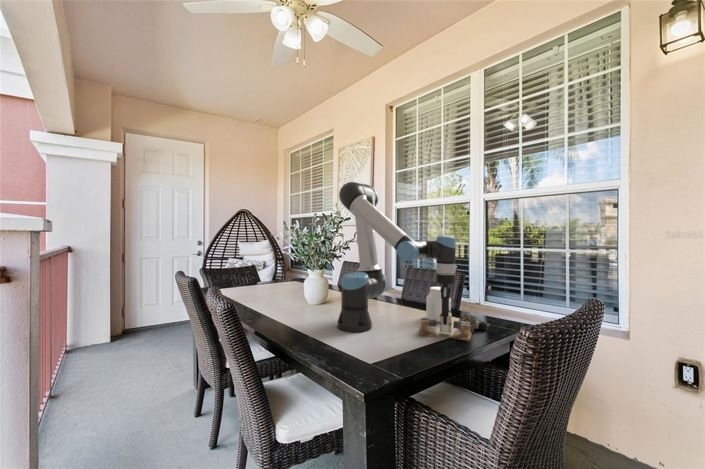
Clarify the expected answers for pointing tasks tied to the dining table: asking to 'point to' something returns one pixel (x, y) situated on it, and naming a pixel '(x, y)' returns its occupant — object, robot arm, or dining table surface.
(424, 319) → the shaft left
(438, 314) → the jar
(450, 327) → the block
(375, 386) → the dining table surface
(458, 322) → the shaft right
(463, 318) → the caster wheel
